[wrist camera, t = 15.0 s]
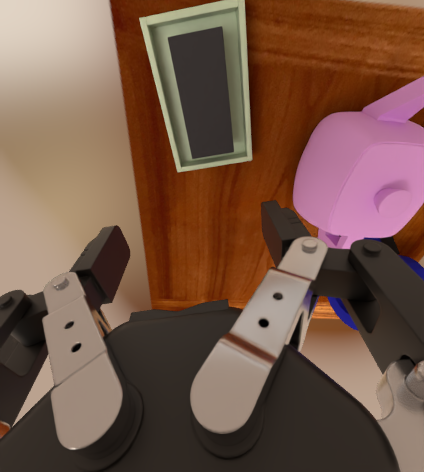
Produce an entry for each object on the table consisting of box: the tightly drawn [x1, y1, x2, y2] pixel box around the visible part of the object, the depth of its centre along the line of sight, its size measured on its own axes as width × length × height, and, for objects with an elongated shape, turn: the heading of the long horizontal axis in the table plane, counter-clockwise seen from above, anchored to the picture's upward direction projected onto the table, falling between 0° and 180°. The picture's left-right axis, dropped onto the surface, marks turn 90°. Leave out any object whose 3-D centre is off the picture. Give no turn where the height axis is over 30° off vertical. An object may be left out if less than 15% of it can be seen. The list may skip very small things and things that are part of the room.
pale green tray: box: [139, 0, 252, 172], centre depth 26 cm, size 10×15×2 cm, turn 9°
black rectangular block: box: [168, 26, 234, 159], centre depth 25 cm, size 11×5×4 cm, turn 9°
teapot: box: [293, 76, 424, 249], centre depth 26 cm, size 20×12×13 cm, turn 175°
